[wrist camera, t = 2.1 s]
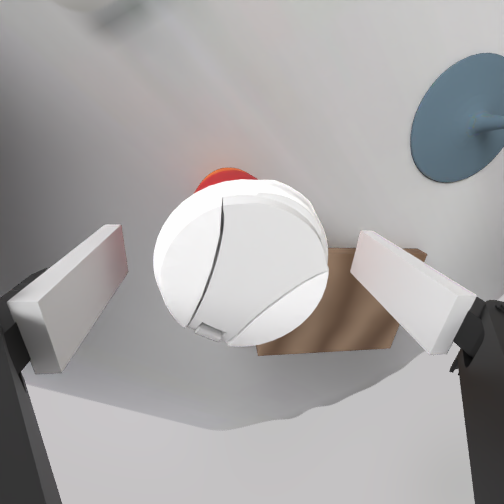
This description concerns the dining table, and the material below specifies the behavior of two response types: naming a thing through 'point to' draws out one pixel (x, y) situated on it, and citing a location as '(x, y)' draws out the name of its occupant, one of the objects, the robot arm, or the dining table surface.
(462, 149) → the cocktail glass
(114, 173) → the dining table surface
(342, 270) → the walnut board
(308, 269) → the coffee cup
